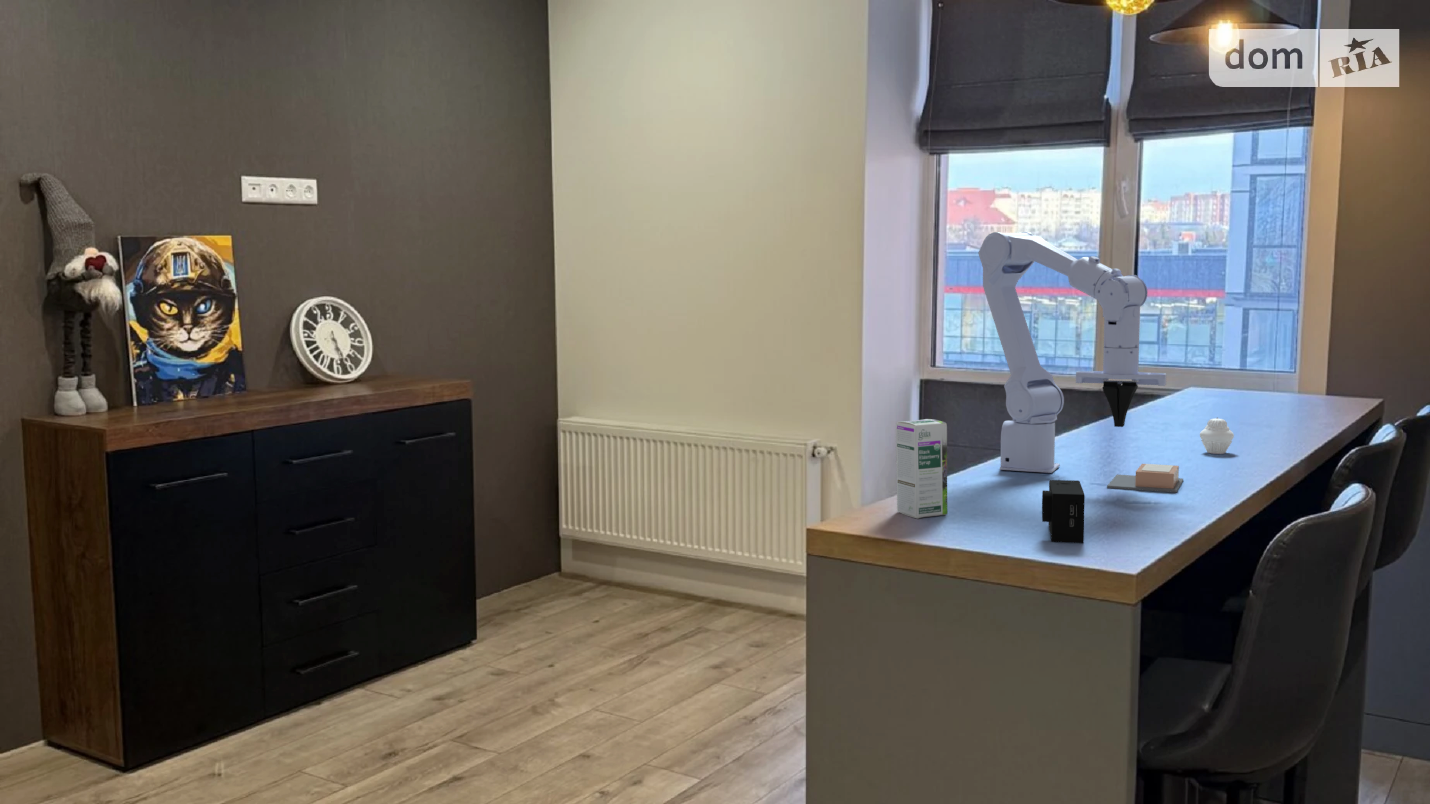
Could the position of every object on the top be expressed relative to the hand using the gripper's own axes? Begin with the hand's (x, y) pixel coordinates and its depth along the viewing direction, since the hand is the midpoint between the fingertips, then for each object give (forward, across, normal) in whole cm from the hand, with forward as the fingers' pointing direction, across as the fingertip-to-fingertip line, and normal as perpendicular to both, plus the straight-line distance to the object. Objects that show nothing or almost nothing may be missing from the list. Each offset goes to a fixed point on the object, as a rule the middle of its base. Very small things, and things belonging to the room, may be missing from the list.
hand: (1119, 426), depth 204 cm
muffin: (+10, +13, +38) cm, 41 cm away
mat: (+10, +4, 0) cm, 11 cm away
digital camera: (+10, -2, -41) cm, 43 cm away
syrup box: (+10, -24, -36) cm, 44 cm away
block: (+8, +3, 0) cm, 9 cm away
